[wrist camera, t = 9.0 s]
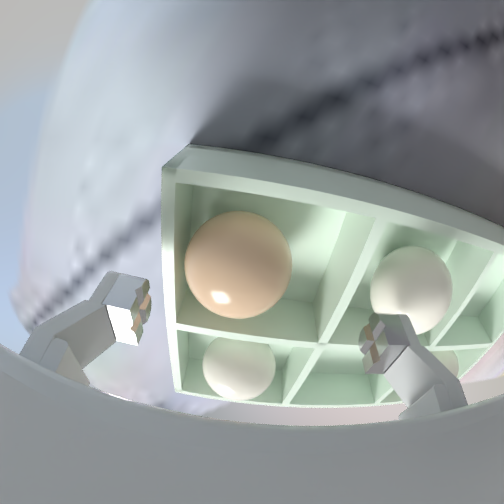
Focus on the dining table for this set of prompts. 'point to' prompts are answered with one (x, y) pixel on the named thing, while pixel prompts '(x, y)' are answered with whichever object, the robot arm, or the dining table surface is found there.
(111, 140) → the dining table surface
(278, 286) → the brown egg
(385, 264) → the cream egg
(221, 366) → the cream egg
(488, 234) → the egg tray
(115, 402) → the robot arm
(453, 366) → the cream egg
